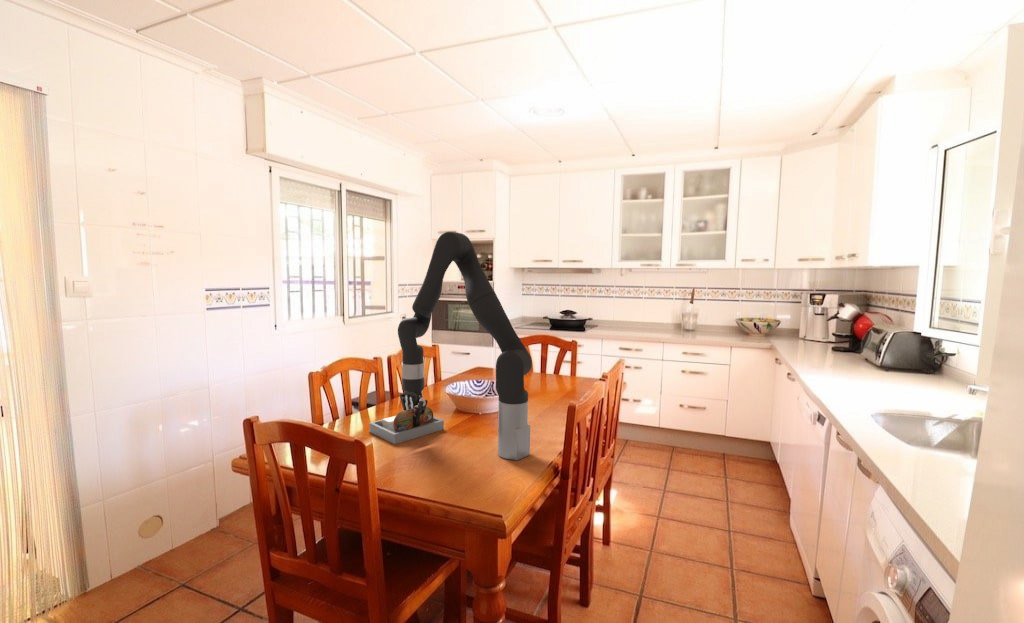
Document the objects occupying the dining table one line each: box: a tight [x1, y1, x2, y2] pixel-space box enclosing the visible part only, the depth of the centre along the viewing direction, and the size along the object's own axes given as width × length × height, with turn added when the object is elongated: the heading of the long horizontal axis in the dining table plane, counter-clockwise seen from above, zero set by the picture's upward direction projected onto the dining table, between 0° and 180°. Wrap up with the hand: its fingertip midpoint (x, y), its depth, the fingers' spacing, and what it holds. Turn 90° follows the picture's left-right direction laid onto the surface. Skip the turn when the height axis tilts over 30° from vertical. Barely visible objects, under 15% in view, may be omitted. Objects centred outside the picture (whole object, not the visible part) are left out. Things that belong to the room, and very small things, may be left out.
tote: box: [368, 416, 445, 445], centre depth 161 cm, size 16×20×4 cm
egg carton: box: [381, 415, 396, 432], centre depth 163 cm, size 4×12×4 cm, turn 136°
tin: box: [393, 406, 434, 433], centre depth 157 cm, size 15×3×8 cm, turn 136°
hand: (413, 424), depth 158 cm, fingers closed on tin, 2 cm apart
